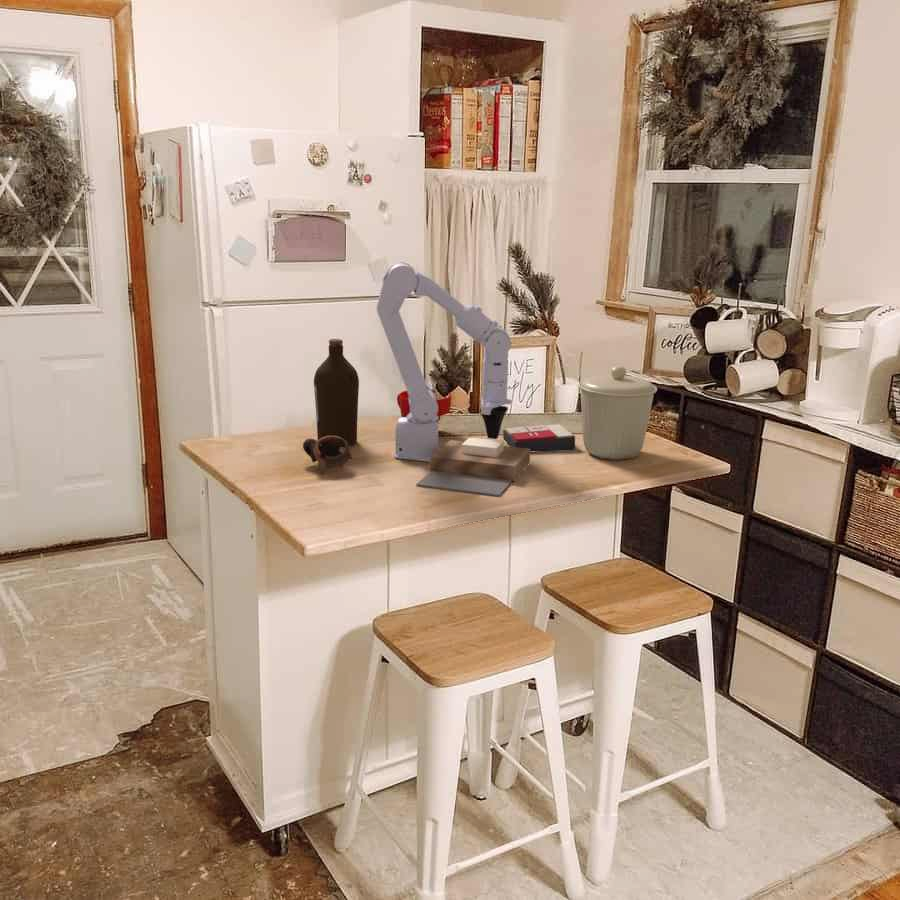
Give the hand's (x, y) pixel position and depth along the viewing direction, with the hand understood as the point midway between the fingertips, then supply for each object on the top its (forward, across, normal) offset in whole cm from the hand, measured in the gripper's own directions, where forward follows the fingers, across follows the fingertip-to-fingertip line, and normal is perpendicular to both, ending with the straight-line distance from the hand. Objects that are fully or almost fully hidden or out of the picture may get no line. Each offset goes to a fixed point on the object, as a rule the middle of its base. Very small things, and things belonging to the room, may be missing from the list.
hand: (492, 437), depth 207 cm
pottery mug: (+5, -22, +32) cm, 39 cm away
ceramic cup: (+5, +14, +23) cm, 27 cm away
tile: (+1, -8, 0) cm, 8 cm away
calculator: (+5, +13, -8) cm, 16 cm away
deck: (+4, -9, 0) cm, 10 cm away
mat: (+4, -22, 0) cm, 22 cm away
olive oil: (+5, -3, +38) cm, 38 cm away
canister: (+5, +13, -26) cm, 29 cm away
